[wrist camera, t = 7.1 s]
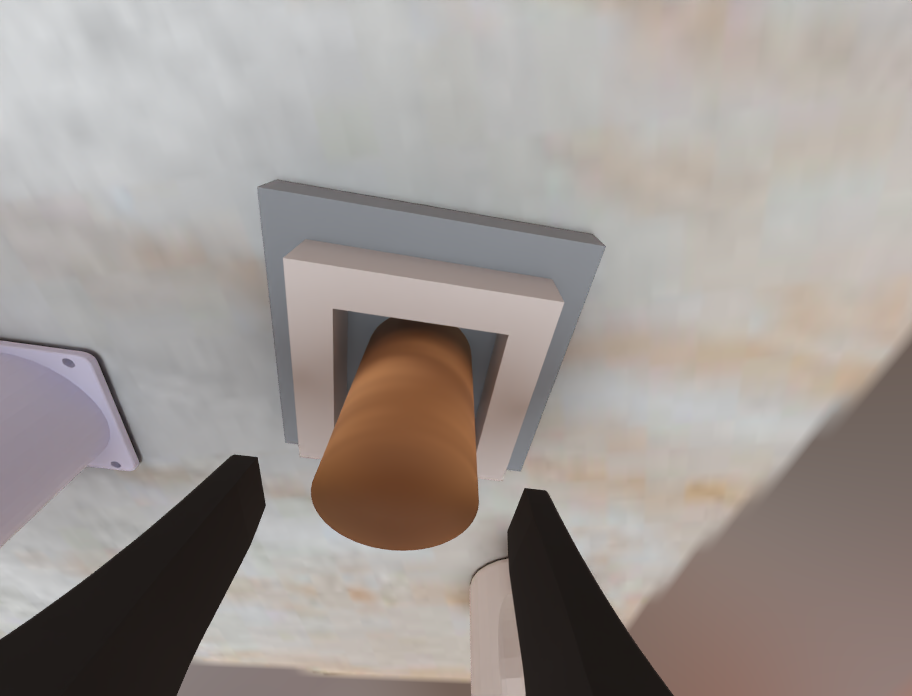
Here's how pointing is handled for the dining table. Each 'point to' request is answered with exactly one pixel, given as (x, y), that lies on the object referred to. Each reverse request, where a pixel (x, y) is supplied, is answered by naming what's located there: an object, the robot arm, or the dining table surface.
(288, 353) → the socket board
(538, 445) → the dining table surface
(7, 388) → the robot arm
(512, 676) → the mug
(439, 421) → the peg
